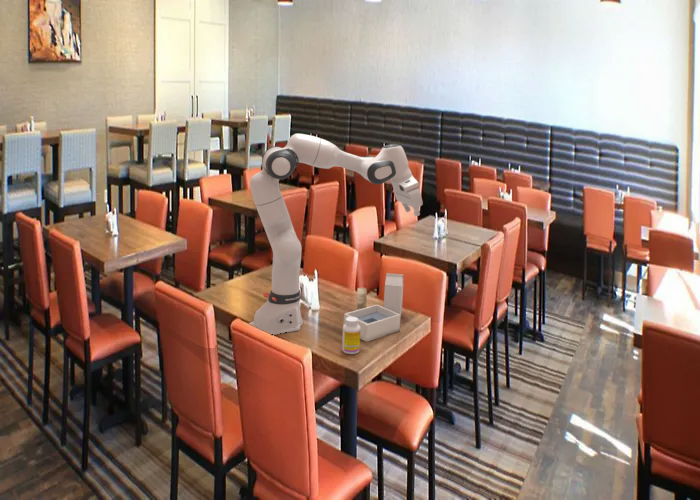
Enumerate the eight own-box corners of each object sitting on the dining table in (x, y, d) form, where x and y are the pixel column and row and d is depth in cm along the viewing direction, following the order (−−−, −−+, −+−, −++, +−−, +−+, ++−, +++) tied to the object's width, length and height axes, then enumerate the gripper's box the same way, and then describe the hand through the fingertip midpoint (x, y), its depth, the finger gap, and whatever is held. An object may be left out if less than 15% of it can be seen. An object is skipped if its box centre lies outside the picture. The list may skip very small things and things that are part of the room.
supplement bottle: (362, 353, 216) (363, 321, 212) (345, 355, 214) (346, 323, 210) (356, 346, 222) (357, 314, 218) (339, 348, 220) (340, 316, 216)
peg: (360, 317, 249) (361, 291, 246) (354, 315, 252) (355, 288, 248) (367, 315, 251) (368, 289, 248) (361, 313, 254) (362, 286, 251)
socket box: (366, 341, 226) (367, 325, 224) (343, 329, 236) (344, 313, 234) (399, 330, 237) (400, 314, 235) (376, 319, 247) (377, 304, 245)
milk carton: (399, 319, 249) (402, 277, 243) (383, 317, 250) (385, 275, 245) (401, 313, 255) (404, 272, 250) (385, 311, 257) (387, 270, 251)
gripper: (386, 182, 245) (396, 211, 249) (405, 188, 226) (416, 221, 230) (399, 176, 246) (409, 206, 250) (420, 182, 227) (430, 214, 231)
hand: (412, 213), depth 240 cm, fingers open, 8 cm apart
